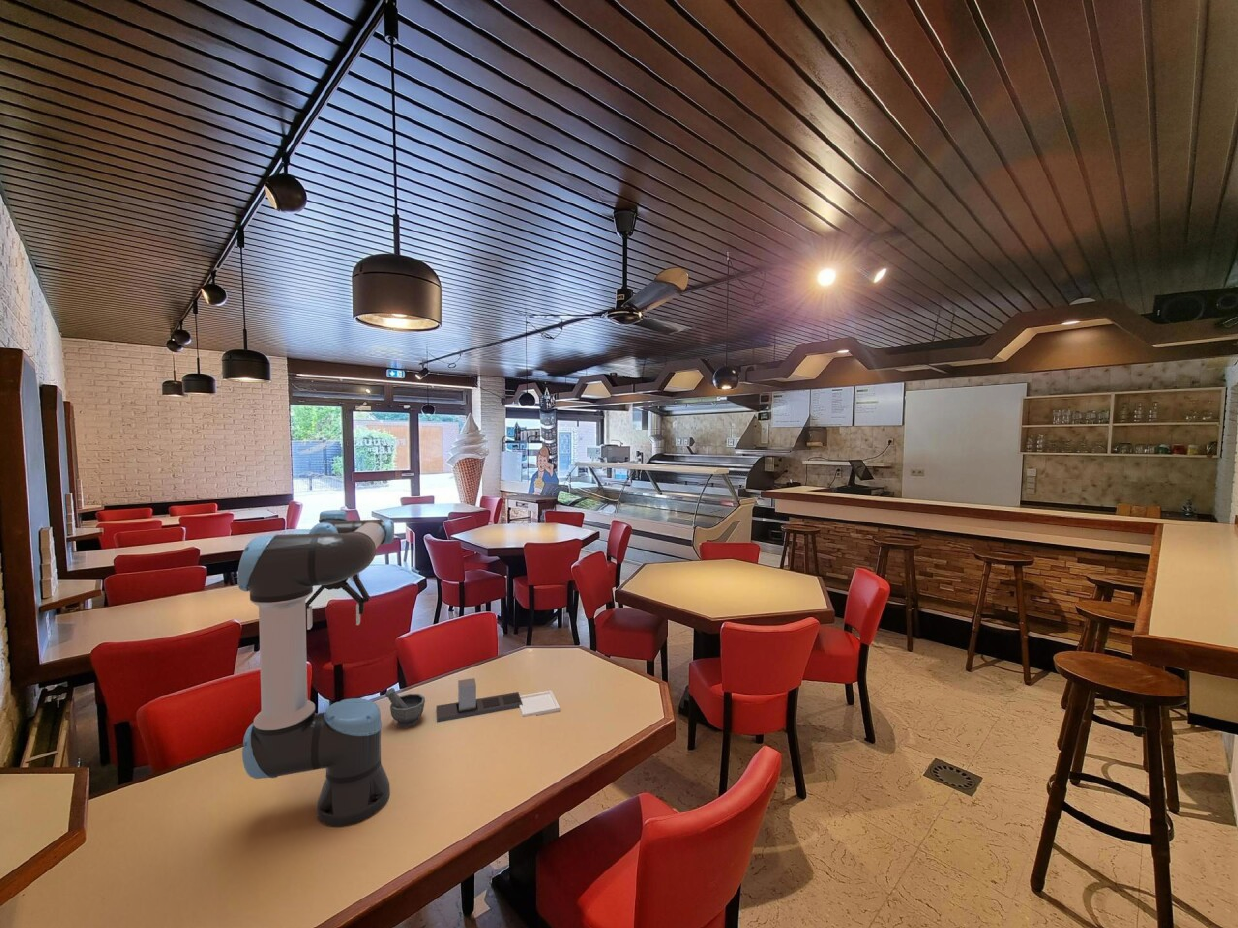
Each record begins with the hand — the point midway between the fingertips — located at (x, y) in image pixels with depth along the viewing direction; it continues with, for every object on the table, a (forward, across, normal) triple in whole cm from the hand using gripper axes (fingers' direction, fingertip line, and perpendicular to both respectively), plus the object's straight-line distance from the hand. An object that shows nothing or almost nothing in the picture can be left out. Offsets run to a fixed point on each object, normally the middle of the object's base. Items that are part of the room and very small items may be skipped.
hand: (334, 626), depth 157 cm
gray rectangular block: (+27, -40, +13) cm, 50 cm away
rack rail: (+27, -44, +12) cm, 53 cm away
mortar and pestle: (+28, -22, +15) cm, 38 cm away
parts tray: (+27, -62, +15) cm, 70 cm away
